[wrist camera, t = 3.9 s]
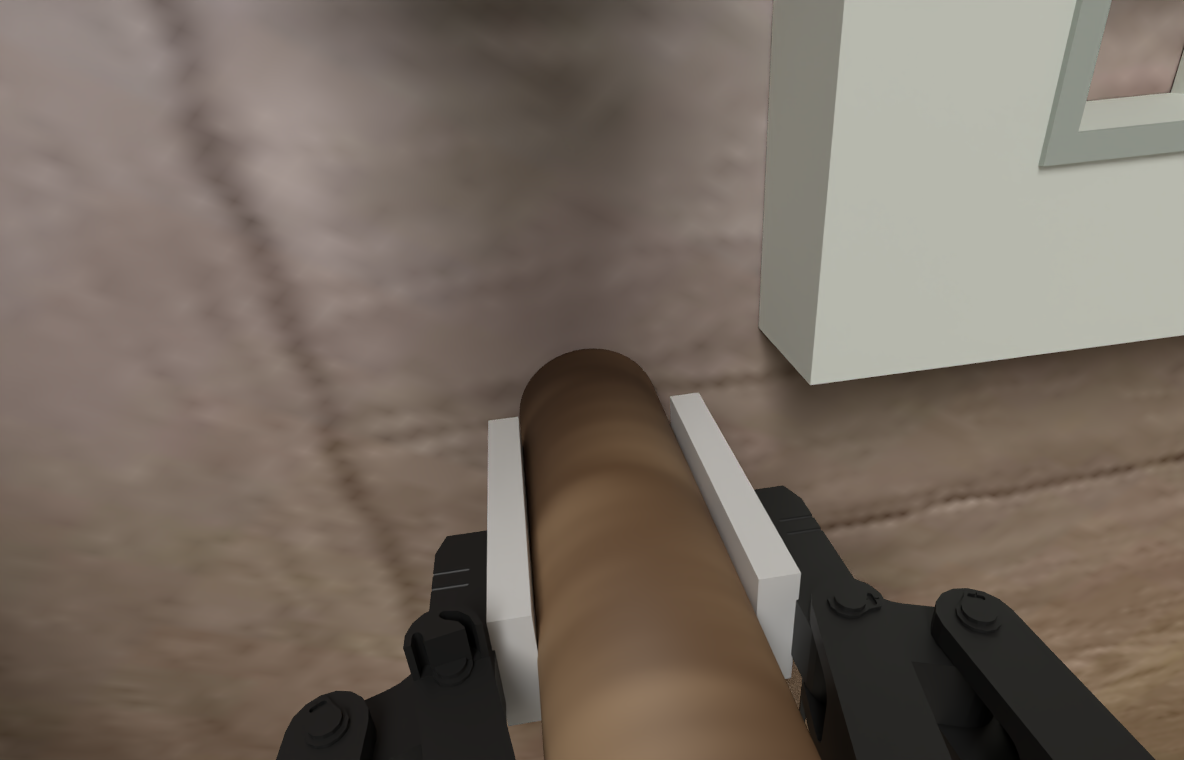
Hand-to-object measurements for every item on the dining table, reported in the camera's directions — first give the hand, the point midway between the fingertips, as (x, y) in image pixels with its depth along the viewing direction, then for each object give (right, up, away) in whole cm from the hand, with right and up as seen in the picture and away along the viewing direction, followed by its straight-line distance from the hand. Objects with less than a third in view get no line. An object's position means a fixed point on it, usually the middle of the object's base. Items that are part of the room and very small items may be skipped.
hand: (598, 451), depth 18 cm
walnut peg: (0, +1, +2) cm, 2 cm away
